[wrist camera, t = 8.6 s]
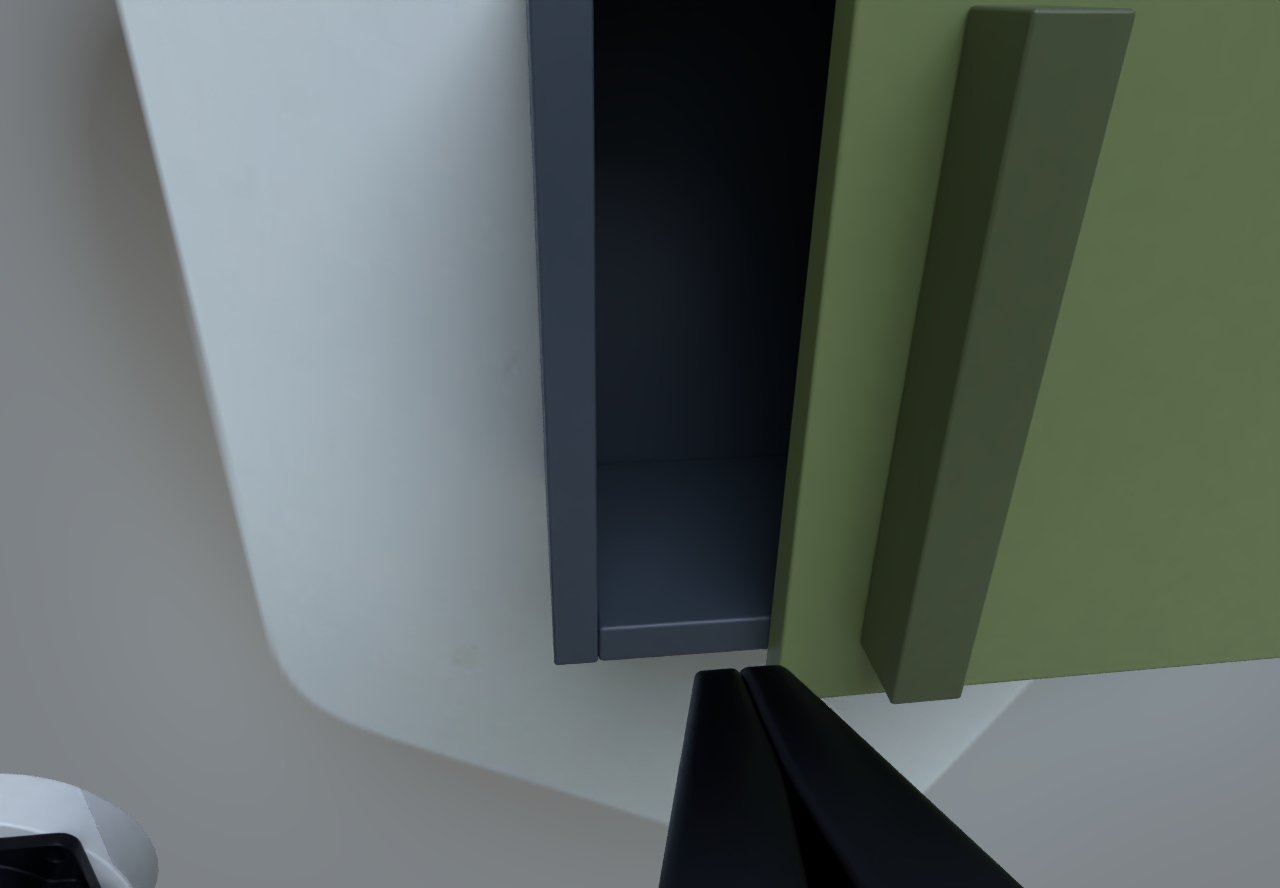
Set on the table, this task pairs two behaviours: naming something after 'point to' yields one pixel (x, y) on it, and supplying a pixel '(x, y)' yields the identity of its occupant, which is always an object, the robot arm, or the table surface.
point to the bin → (670, 308)
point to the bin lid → (1037, 348)
